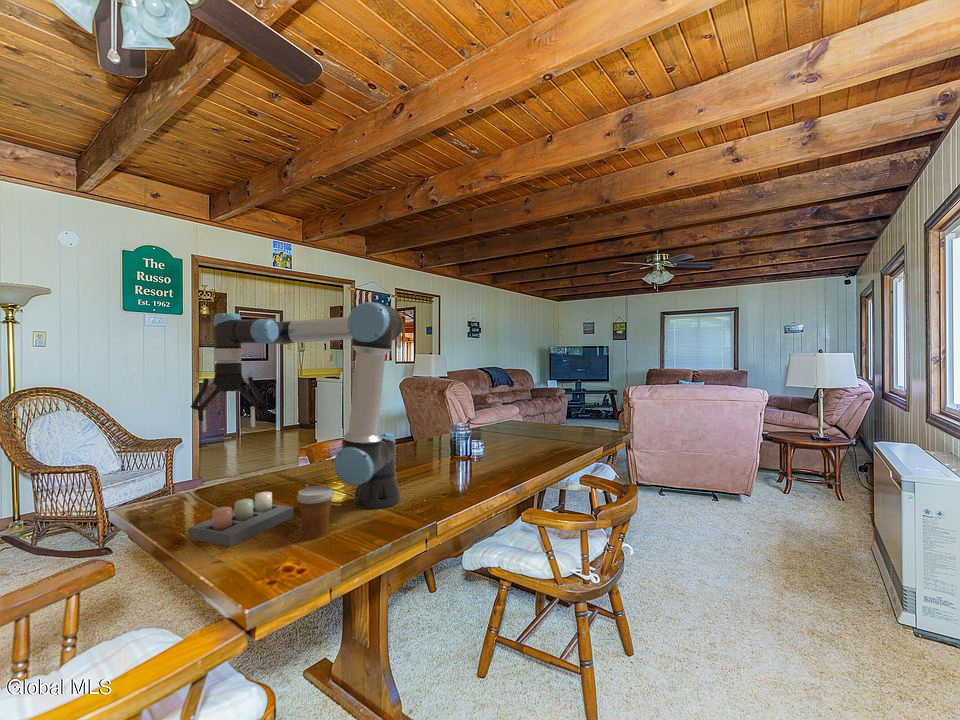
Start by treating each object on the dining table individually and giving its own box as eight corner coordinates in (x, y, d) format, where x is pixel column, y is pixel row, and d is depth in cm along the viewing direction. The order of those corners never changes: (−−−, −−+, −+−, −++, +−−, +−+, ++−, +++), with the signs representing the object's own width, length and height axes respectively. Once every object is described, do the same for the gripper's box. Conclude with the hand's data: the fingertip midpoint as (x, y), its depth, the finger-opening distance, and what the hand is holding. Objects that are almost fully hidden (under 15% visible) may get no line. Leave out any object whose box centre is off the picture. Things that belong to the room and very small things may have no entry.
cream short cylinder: (275, 509, 135) (275, 492, 135) (263, 514, 131) (263, 497, 131) (263, 507, 137) (263, 491, 137) (251, 512, 132) (251, 495, 132)
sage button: (256, 517, 129) (256, 499, 129) (243, 522, 124) (243, 504, 124) (244, 515, 130) (244, 498, 130) (231, 520, 126) (230, 503, 126)
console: (293, 517, 135) (293, 507, 135) (230, 546, 114) (230, 535, 114) (255, 511, 140) (255, 501, 140) (188, 538, 120) (188, 527, 119)
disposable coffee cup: (297, 543, 116) (296, 498, 116) (296, 530, 125) (296, 487, 125) (335, 537, 120) (335, 493, 120) (332, 525, 129) (331, 483, 128)
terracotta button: (236, 526, 122) (235, 507, 122) (221, 532, 118) (220, 513, 118) (223, 523, 124) (223, 505, 124) (208, 530, 119) (208, 511, 119)
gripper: (267, 361, 153) (269, 423, 153) (180, 363, 138) (181, 431, 138) (273, 361, 147) (274, 426, 147) (181, 363, 132) (183, 435, 132)
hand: (229, 428), depth 142 cm, fingers open, 13 cm apart
